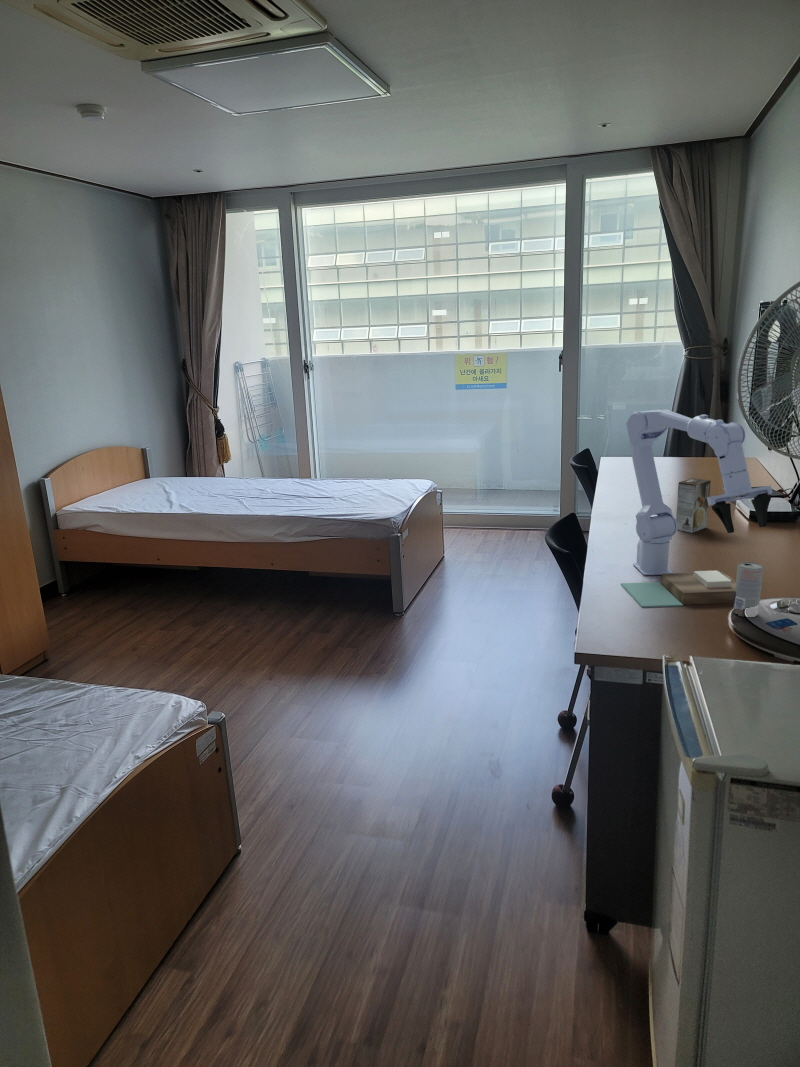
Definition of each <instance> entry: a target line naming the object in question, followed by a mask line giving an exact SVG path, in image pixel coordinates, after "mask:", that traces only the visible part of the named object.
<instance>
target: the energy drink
mask: <svg viewBox="0 0 800 1067" xmlns="http://www.w3.org/2000/svg"><path fill="white" fill-rule="evenodd" d="M763 575H764V568H763V565H762V563H758V562H753V561H741V562H739V563H738V566H737V569H736V580H735V581H736V587H735V596H734V603H733V606H732V610H733V609H740V610H743V609H746V608H750V607H755V606H757V605H759V606H760V601H761V593H762V592H761V591H762V584H763V578H764V577H763Z"/></svg>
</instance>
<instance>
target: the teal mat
mask: <svg viewBox="0 0 800 1067" xmlns="http://www.w3.org/2000/svg"><path fill="white" fill-rule="evenodd" d="M620 586H621V587H622V588H623V589H624V590H625V592H626V593H628V594H629V595H630V597H633V598H632V600H634V601H635V602H636V603H637V604H638V605H639V607H641V608H662V607H663V608H665V607H667V608H668V607H669V608H670V607H683V606H684V604H682V603H681V602H680V601H679V600H678V599H676V598H675V597H674V596H673V595H672V594H671V593H670V592H669V591H668V590H667V589H666V588H665V587H663V586H662V585H661V582H660V581H652V582H651V581H647V582H646V581H645V582H621V583H620Z"/></svg>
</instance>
